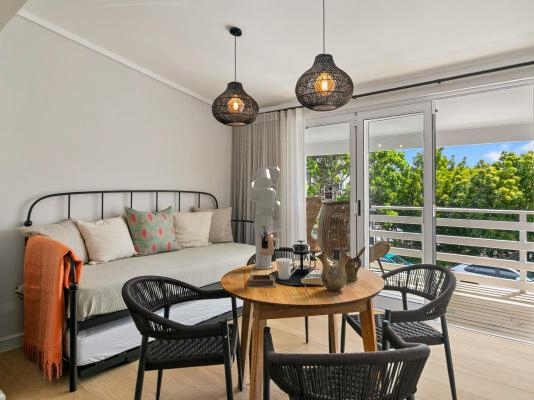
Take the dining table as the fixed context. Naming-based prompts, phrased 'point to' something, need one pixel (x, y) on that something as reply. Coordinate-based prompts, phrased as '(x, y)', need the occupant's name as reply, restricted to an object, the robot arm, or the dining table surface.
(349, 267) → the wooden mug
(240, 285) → the dining table surface
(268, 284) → the jug stand
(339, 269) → the ceramic vessel
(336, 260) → the coffee can
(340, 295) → the dining table surface
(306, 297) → the dining table surface
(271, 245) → the jug
